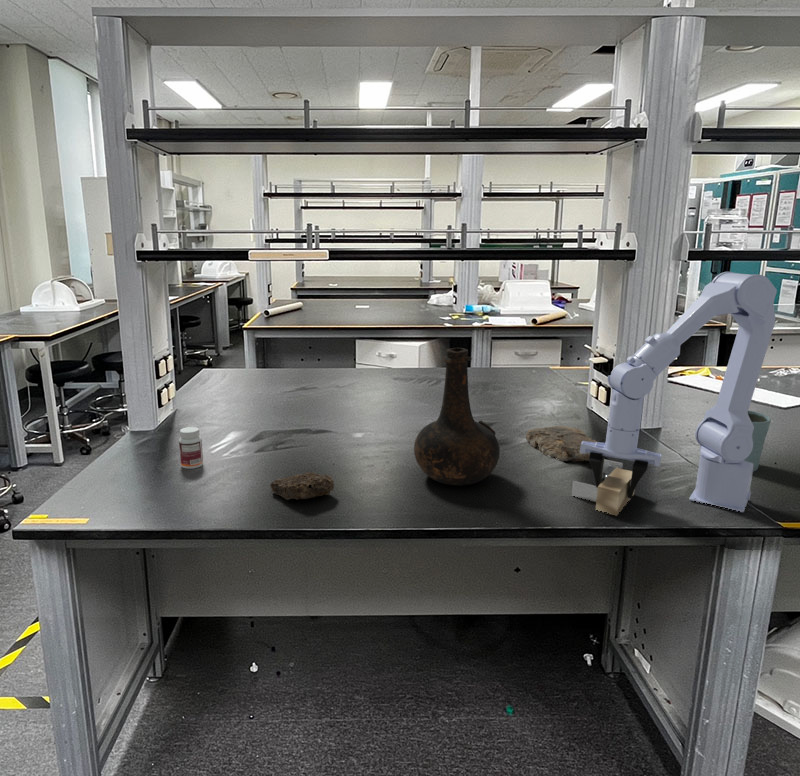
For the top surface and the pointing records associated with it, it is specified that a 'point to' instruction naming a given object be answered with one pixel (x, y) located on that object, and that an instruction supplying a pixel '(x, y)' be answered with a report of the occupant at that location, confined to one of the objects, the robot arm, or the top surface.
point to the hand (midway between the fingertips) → (614, 493)
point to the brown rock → (303, 486)
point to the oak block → (614, 492)
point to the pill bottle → (190, 448)
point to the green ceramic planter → (758, 436)
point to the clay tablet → (559, 442)
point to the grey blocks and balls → (590, 490)
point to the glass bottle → (456, 433)
